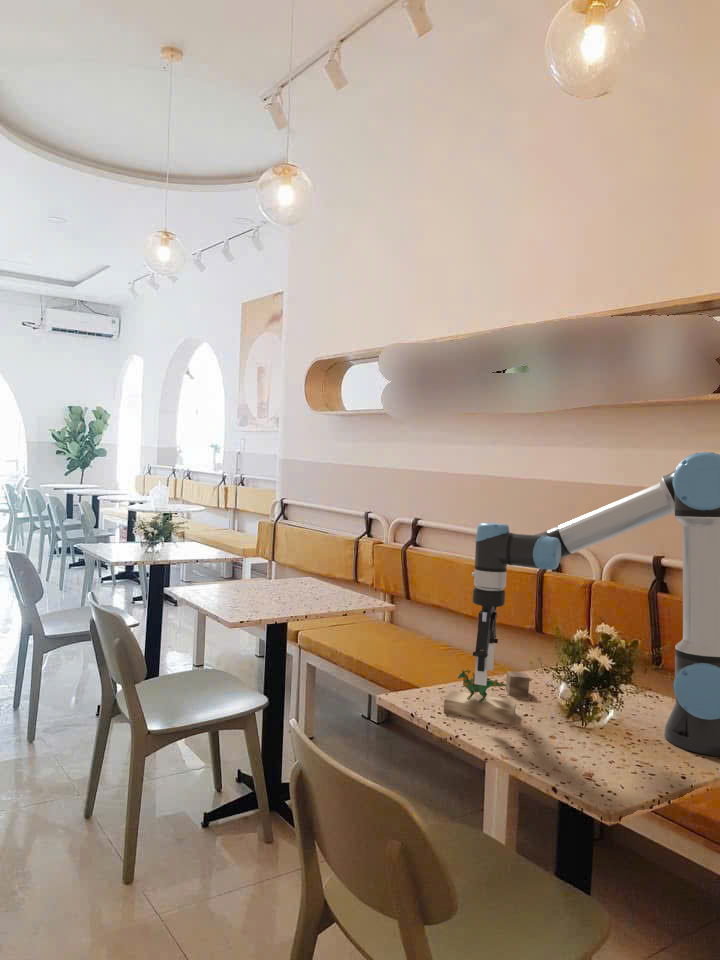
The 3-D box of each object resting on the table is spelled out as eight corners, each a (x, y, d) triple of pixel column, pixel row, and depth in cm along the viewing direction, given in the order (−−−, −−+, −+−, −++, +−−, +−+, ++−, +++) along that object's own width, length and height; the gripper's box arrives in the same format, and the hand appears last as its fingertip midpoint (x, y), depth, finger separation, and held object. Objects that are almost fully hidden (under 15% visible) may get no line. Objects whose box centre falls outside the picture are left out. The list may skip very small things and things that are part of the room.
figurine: (458, 693, 172) (460, 660, 172) (507, 703, 168) (509, 669, 167) (454, 697, 169) (457, 663, 169) (504, 707, 165) (507, 672, 165)
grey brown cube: (524, 690, 189) (525, 672, 189) (528, 696, 184) (529, 677, 184) (505, 689, 189) (506, 670, 189) (508, 695, 184) (510, 676, 184)
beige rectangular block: (515, 713, 170) (516, 700, 170) (512, 724, 163) (513, 711, 163) (449, 702, 175) (450, 690, 175) (443, 712, 167) (444, 699, 167)
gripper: (480, 579, 181) (475, 662, 181) (465, 594, 157) (460, 688, 158) (510, 582, 179) (505, 666, 179) (499, 597, 155) (494, 693, 155)
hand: (484, 677), depth 168 cm, fingers open, 13 cm apart
